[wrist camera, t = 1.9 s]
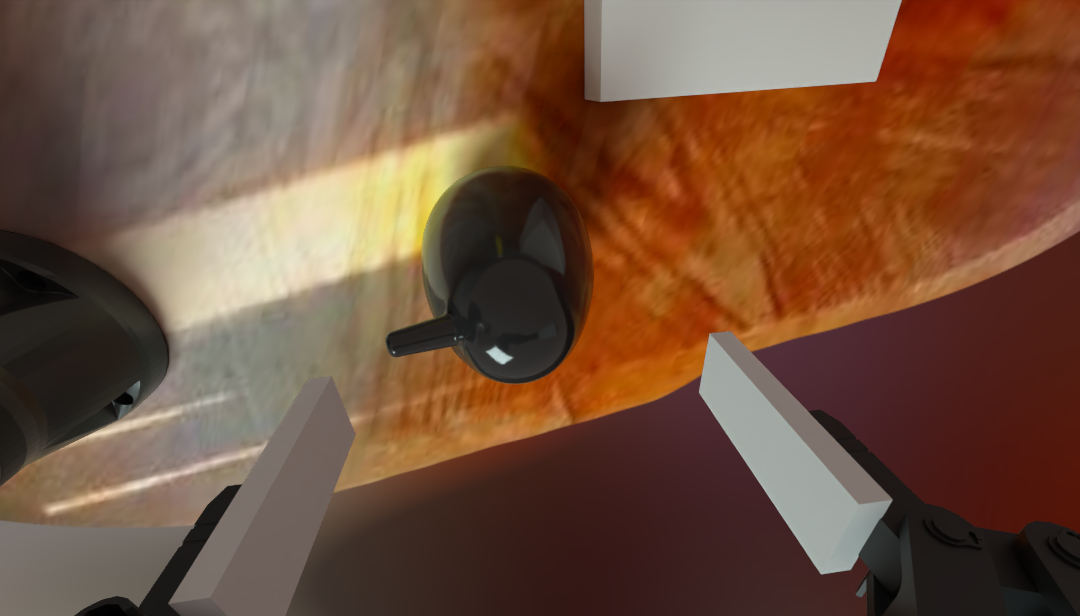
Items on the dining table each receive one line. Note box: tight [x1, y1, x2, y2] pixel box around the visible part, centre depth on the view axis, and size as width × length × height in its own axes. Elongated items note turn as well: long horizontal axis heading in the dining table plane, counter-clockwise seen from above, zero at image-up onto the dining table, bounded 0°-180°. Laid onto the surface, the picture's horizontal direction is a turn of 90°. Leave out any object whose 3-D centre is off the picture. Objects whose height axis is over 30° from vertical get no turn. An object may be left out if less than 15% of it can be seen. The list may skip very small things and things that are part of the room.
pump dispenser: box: [386, 166, 594, 384], centre depth 22 cm, size 10×10×15 cm
